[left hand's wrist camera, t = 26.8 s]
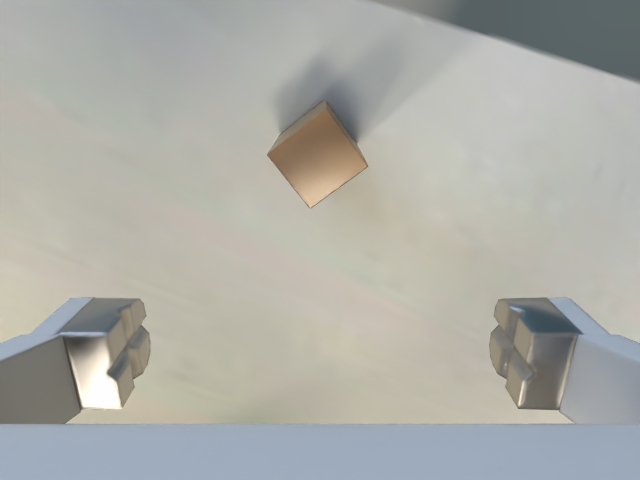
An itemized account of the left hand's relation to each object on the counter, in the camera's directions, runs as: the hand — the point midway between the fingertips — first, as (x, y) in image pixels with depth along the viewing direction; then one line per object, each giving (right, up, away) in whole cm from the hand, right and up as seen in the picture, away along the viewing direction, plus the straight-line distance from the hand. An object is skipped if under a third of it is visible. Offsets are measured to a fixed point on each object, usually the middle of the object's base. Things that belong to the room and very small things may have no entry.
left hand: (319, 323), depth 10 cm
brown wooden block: (0, +11, +28) cm, 30 cm away
